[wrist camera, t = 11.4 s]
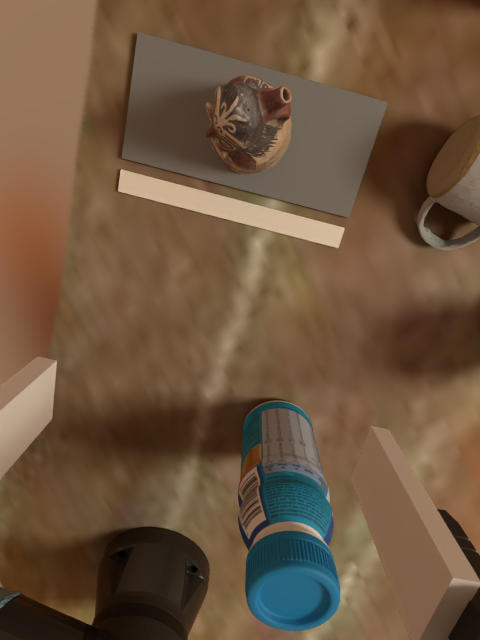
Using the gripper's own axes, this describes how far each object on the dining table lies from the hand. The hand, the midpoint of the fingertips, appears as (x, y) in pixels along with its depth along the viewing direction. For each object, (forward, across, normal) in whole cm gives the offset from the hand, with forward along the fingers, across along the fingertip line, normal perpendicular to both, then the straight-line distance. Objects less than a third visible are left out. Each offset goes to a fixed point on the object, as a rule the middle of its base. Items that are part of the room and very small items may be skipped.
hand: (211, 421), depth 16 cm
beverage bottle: (+26, -9, +16) cm, 32 cm away
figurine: (+24, +2, -14) cm, 28 cm away
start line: (+25, +2, -7) cm, 26 cm away
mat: (+25, +1, -14) cm, 28 cm away
